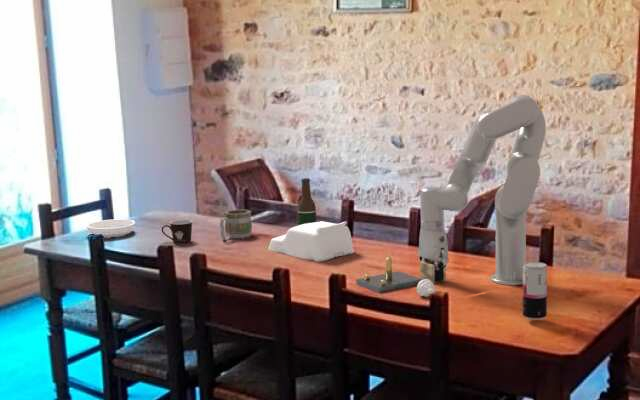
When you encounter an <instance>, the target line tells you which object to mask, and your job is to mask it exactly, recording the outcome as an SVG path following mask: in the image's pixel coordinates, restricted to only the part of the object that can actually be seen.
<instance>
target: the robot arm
mask: <svg viewBox="0 0 640 400" xmlns="http://www.w3.org/2000/svg"><path fill="white" fill-rule="evenodd" d="M516 131H517V135H516V138H515V142H514V145H513V147H512V151H511V154H510V156H509V159H508V161H507V164H506V170H507V176H506V179H505V182H504V184H503V185H502V186H501V187H499V188H498V189H497V191H496V192H495V197H494V211H495V214H494V215H495V273H494V274H491V276H490V280H491V282H492V283H496V284H498V285H504V286H505V285H506V286H517V285H518V286H519V285H523V266H524V263H527V261H526V260H527V259H526V257H527V255H526V254H527V253H526V249H527V248H526V245H527V243H526V241H527V235H526V234H527V218H526V217H527V212H528V211H529V209H530V206H531V204H532V201H533V198H534V195H535V192H536V189H537V187H538V186H537V185H538V183H539V180H540V178H541V177H540V176H541V167H540V164H539V159H540V156H541V152H542V149H543V145H544V142H545V139H546V133H547V126H546V119H545V115H544V114H543V111H542V109H541V108H540V106H539V104H538V102H537V101H536V100H535V99H534V98H533V97H531V96H530V95H525V94H520V95H516V96H514V97H513V99H511V101H510V102H509V103H508V104H505V105H503V106H502V107H499V108H497V109H494V110H492V111H491V110H485V111H484V110H483V111H482V112H480V113H479V114H478V115H477V117H476V119H475V121H474V122H473V125H472V128H471V130H470V132H469V134H468V136H467V140H466V142H465V143H464V145H463V148H462V150H461V152H460V154H459V157H458V159H457V162H456V164H455V166H454V168H453V170H452V172H451V174H450V177H449V179H448V182H447V184H446V187H445V189H443V188H441V187H440V186H439V187H438V186H426V187H423V188H421V190H420V201H419V202H420V203H419V204H420V230H419V238H418V240H419V241H418V250H417V252H416V254H417V256H418V258H419V260H420V262H424V261H429V260H432V261H434V262H435V266H436V270H435V282H438V283H440V282H439V281H442V282H444V281H443V280H444V269H445V266H446V267H447V265H448V264H449V262H450V259H449V248H448V246H449V245H448V238H447V232H446V229H445V211H449V212H459V211H460V212H461V211H463V210H464V209H466V208H467V206H468V204H469V197H468V193H469V191H470V189H471V186H472V185H473V183H474V180H475V178H476V177H477V175H478V173H479V172H480V171H481V170H482V169H483V168H484V167H485V166H486V164H487V162H488V160H489V158H490V155H491V152H492V150H493V148H494V146H495V143H496V142H497V139H499V138H501V137H504V136H505V137H506V136H507V135H510V134H511V133H513V132H516ZM438 262H440V264H438Z"/></svg>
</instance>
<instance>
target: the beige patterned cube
mask: <svg viewBox="0 0 640 400" xmlns="http://www.w3.org/2000/svg"><path fill="white" fill-rule="evenodd" d="M438 264H440V262H438ZM435 270H436V266H435V262H434V261H432V260H429V261H424V262H421V261H420V262H419V278H420V279H422V280H424V279H429V280H430V281H431V282H432V283H433V284H437V283H443V282H447V265H446V266H445V269H444V280H443V281H439V282H435Z"/></svg>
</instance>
